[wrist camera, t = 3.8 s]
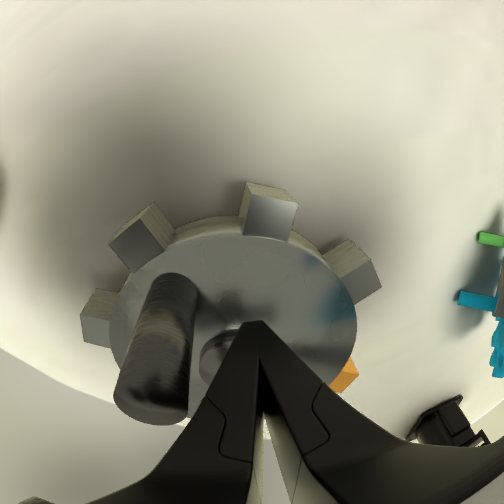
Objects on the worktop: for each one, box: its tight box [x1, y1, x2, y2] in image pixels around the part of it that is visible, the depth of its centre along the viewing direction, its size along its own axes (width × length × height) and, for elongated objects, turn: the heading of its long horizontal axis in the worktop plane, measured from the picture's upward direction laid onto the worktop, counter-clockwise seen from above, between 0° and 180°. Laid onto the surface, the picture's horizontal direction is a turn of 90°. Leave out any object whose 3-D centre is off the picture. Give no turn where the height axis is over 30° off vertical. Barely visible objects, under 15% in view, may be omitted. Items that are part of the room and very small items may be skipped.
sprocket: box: [80, 182, 381, 425], centre depth 11 cm, size 14×14×8 cm
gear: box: [458, 232, 504, 378], centre depth 14 cm, size 11×6×10 cm
